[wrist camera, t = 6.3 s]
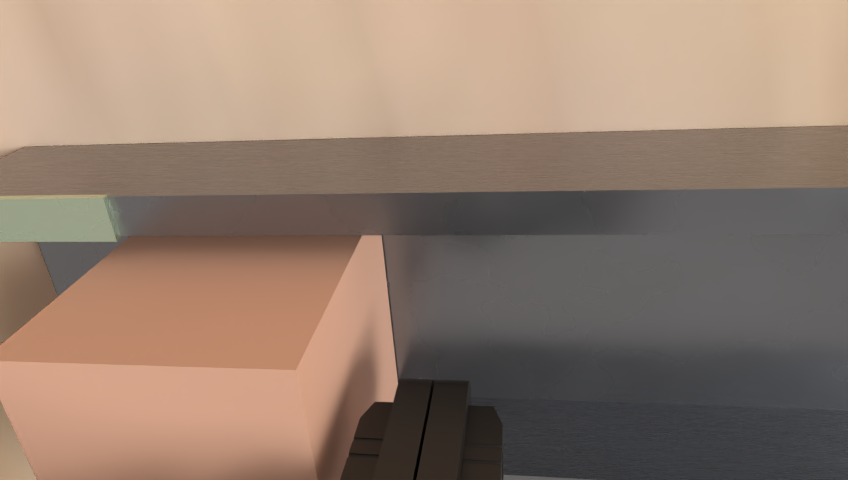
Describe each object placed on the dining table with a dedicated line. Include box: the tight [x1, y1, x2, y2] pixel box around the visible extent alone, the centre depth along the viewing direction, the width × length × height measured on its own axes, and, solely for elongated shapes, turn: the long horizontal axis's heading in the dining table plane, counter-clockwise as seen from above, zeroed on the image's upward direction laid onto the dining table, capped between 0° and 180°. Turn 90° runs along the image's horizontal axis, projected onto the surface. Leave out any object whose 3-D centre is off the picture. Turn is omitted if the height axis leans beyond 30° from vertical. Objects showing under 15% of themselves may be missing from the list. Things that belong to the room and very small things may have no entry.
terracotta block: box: [0, 235, 398, 480], centre depth 16 cm, size 6×6×7 cm
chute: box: [0, 126, 848, 480], centre depth 17 cm, size 26×9×4 cm, turn 94°
